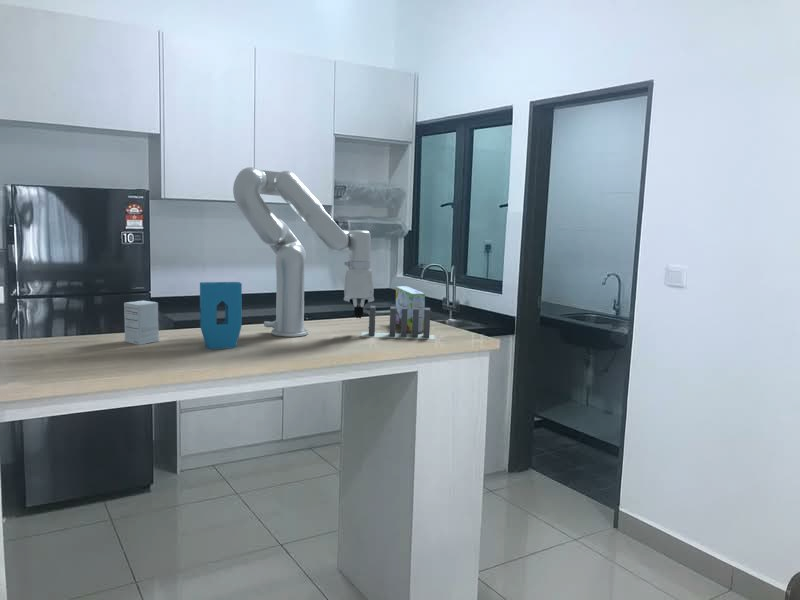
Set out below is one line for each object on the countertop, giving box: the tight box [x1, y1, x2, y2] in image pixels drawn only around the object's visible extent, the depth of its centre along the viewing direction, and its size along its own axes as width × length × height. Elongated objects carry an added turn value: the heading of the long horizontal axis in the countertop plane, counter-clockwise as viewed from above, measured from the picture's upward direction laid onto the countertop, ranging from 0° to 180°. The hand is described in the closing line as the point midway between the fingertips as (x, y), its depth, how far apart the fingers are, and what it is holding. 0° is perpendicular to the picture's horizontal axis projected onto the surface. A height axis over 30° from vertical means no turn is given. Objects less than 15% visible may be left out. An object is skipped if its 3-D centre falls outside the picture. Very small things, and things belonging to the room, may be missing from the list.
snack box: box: [395, 285, 426, 333], centre depth 240 cm, size 21×6×15 cm, turn 17°
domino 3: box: [400, 307, 408, 337], centre depth 222 cm, size 2×5×10 cm, turn 0°
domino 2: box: [388, 306, 397, 337], centre depth 222 cm, size 2×5×10 cm, turn 0°
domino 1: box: [367, 305, 377, 336], centre depth 222 cm, size 2×5×10 cm, turn 1°
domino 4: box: [411, 307, 419, 339], centre depth 222 cm, size 2×5×10 cm, turn 0°
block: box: [199, 281, 243, 350], centre depth 195 cm, size 12×5×20 cm, turn 116°
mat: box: [360, 331, 436, 340], centre depth 223 cm, size 26×8×1 cm, turn 90°
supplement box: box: [123, 300, 160, 346], centre depth 199 cm, size 7×7×13 cm
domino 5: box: [422, 307, 431, 338], centre depth 222 cm, size 2×5×10 cm, turn 0°
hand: (358, 317), depth 222 cm, fingers closed
